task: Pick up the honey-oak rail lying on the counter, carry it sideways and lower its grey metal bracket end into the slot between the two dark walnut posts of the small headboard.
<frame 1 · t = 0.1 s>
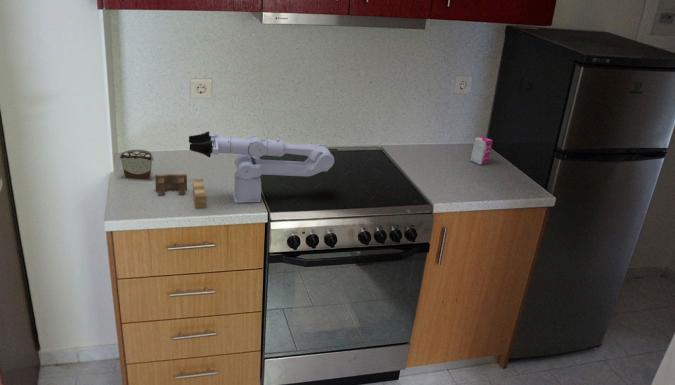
hand: (189, 143, 204), 22 cm above the countertop, tool horizontal, fingers open, 7 cm apart
supplement box: (479, 163, 271), on the countertop
headboard: (171, 193, 216), on the countertop
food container: (139, 177, 227), on the countertop
rail: (199, 200, 214), on the countertop
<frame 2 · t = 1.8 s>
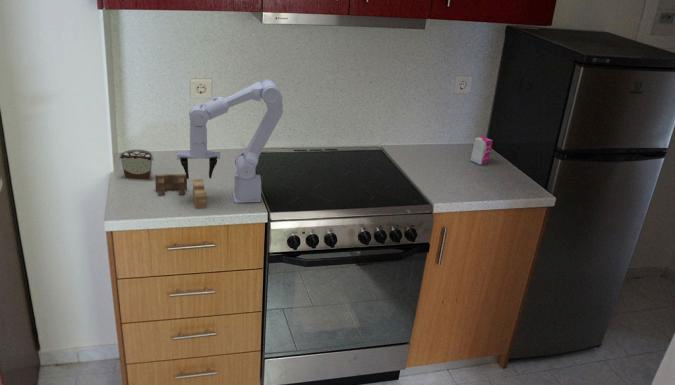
hand: (198, 177, 210), 9 cm above the countertop, tool pointing down, fingers open, 7 cm apart
nothing on the countertop moved.
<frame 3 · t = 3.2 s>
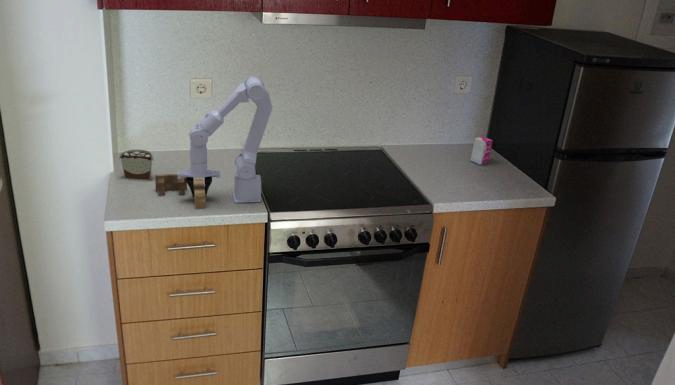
hand: (199, 196, 213), 1 cm above the countertop, tool pointing down, fingers closed on rail, 3 cm apart
rail: (199, 199, 214), on the countertop, touching gripper
everything else where it was.
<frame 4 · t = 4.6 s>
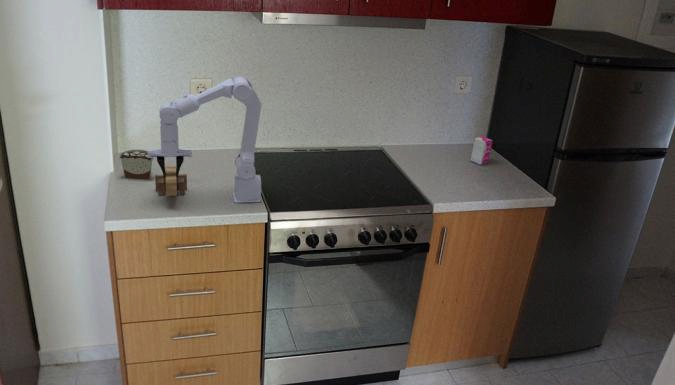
hand: (170, 176, 207), 9 cm above the countertop, tool pointing down, fingers closed on rail, 3 cm apart
rail: (171, 187, 209), point 5 cm above the countertop, touching gripper
everything else where it was.
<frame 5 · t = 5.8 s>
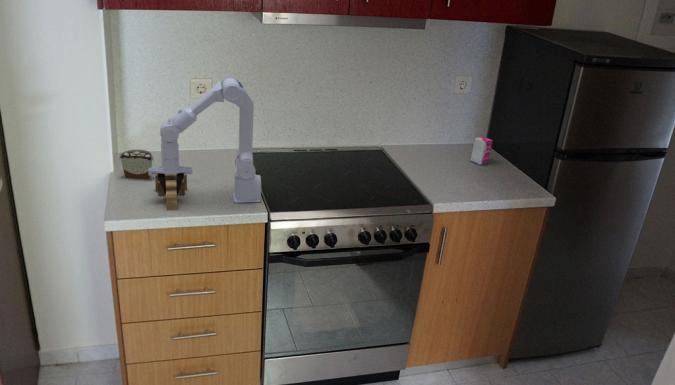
hand: (171, 192, 210), 3 cm above the countertop, tool pointing down, fingers closed on rail, 3 cm apart
rail: (171, 201, 211), on the countertop, touching gripper
everything else where it was.
when the fingers open (3 cm above the countertop, at t = 6.1 s): rail stays where it is, on the countertop.
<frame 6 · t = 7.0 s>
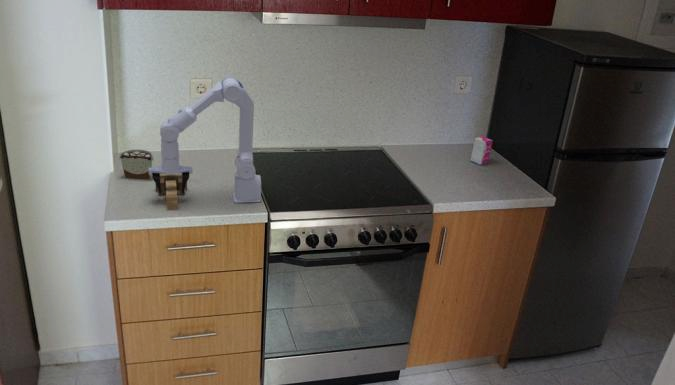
hand: (171, 192, 210), 3 cm above the countertop, tool pointing down, fingers open, 7 cm apart
rail: (171, 201, 211), on the countertop
everything else where it was.
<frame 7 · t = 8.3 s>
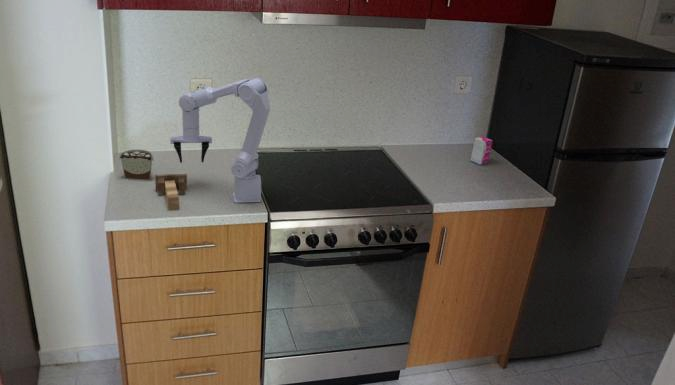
hand: (191, 161, 219), 10 cm above the countertop, tool pointing down, fingers open, 7 cm apart
nothing on the countertop moved.
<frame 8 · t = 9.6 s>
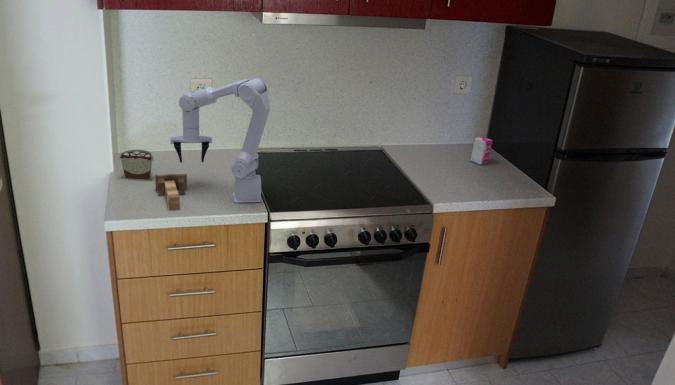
hand: (191, 161, 219), 10 cm above the countertop, tool pointing down, fingers open, 7 cm apart
nothing on the countertop moved.
at the end: rail 0.1 cm from the target spot on the countertop beside the headboard, on the countertop; rail tilted 0°; the gripper is holding nothing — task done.
